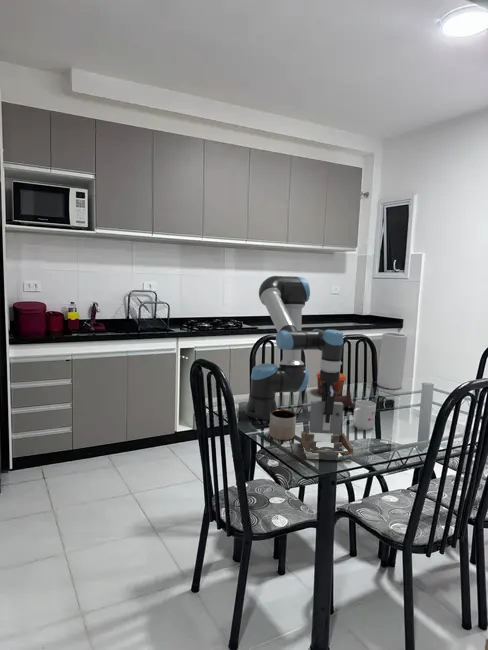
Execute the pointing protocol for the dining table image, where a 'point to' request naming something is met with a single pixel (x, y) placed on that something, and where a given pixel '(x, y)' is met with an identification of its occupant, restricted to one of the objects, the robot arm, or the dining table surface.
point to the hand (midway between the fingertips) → (325, 428)
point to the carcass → (338, 441)
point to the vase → (392, 360)
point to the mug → (364, 414)
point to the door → (317, 418)
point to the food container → (337, 385)
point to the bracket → (345, 400)
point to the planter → (282, 424)
